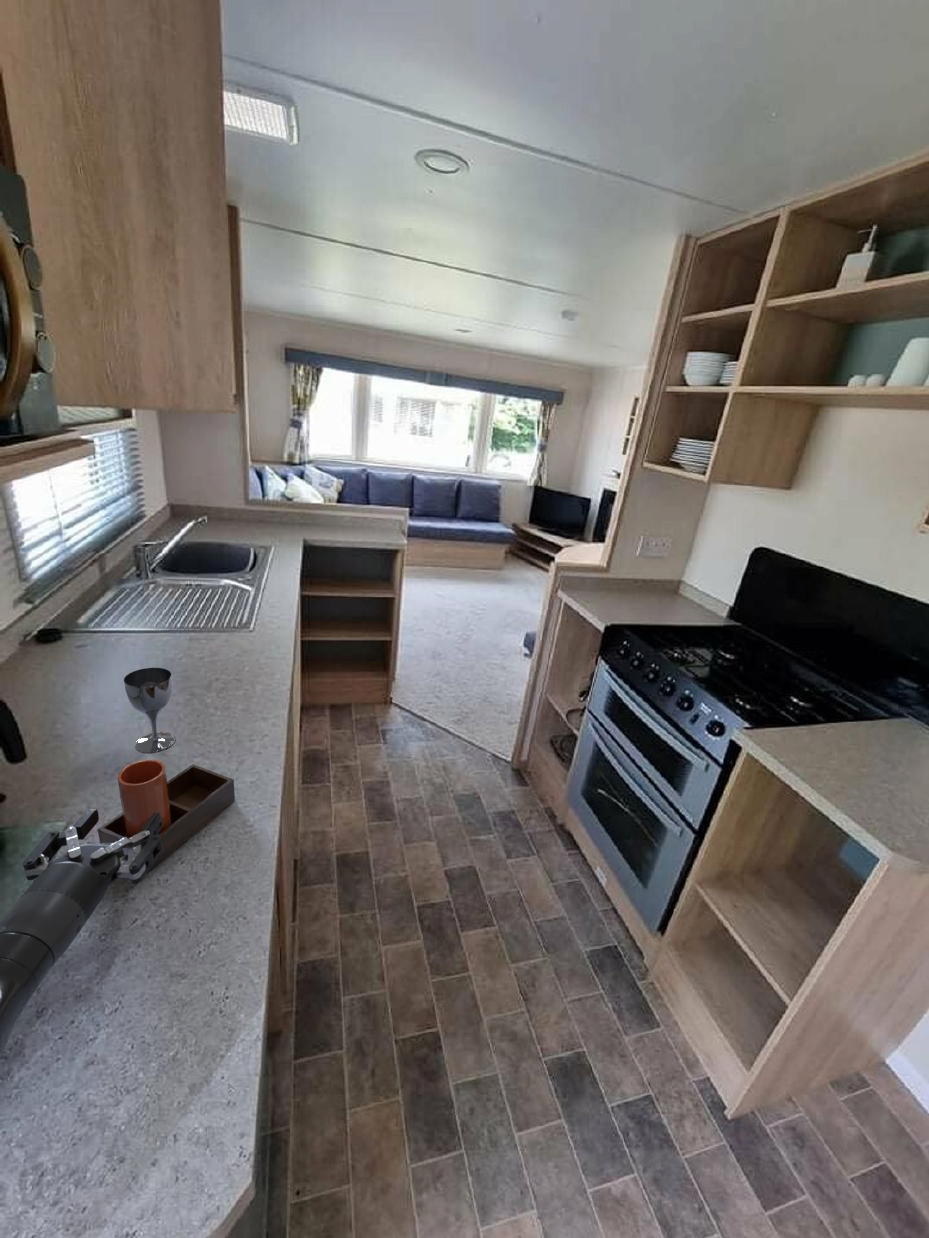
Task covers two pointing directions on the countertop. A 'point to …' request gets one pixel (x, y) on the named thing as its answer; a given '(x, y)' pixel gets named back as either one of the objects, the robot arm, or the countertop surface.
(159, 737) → the wine glass
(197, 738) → the countertop surface
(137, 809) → the tumbler
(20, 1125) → the countertop surface
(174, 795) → the caddy
